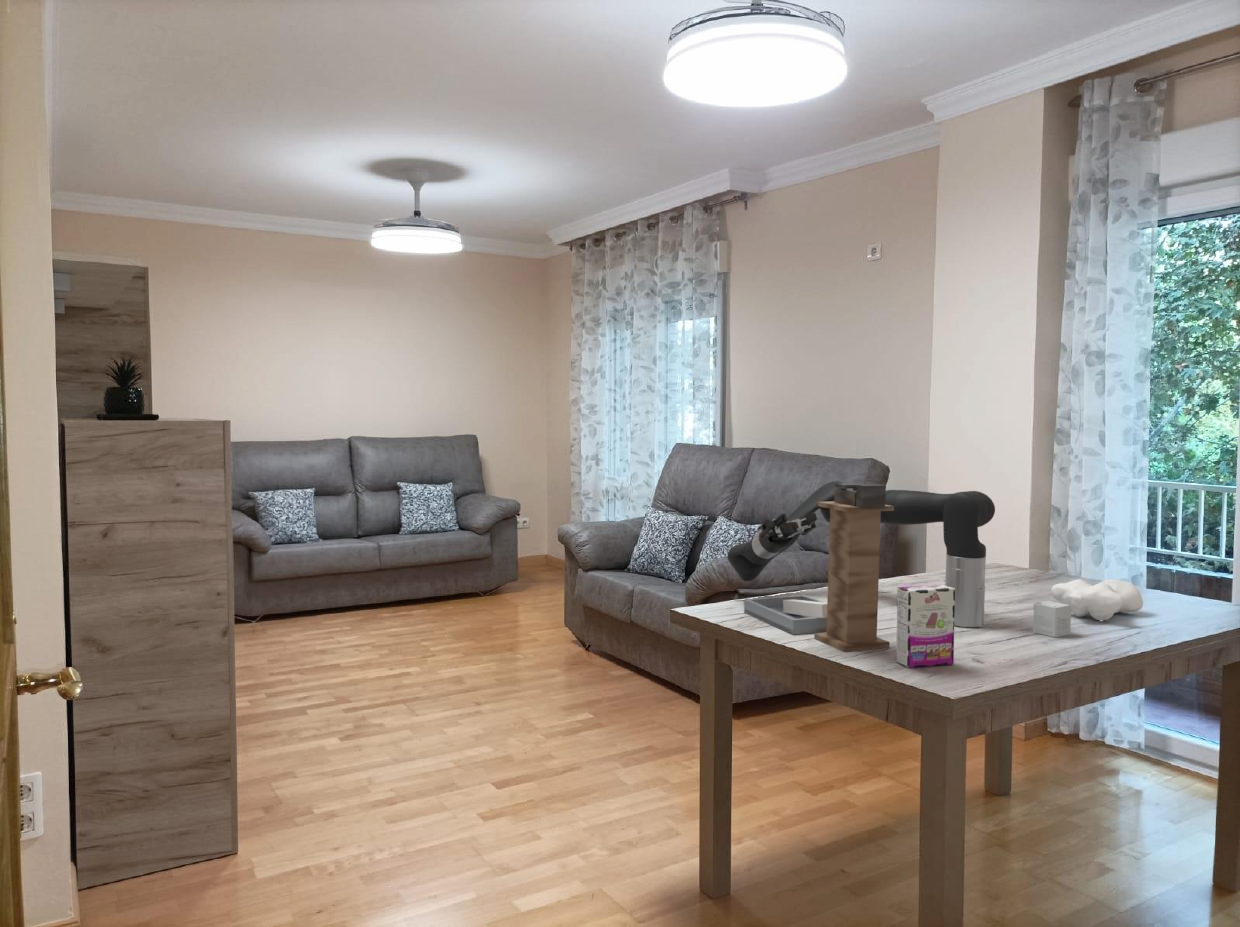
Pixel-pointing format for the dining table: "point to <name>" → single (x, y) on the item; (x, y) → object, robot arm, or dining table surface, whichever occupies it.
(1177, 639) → the dining table surface
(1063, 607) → the skincare box
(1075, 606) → the torso sculpture
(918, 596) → the candy bar box
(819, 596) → the dining table surface
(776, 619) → the tray
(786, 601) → the plug
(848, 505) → the socket stand
